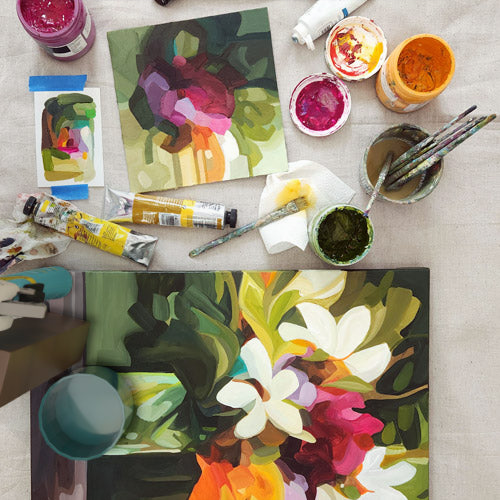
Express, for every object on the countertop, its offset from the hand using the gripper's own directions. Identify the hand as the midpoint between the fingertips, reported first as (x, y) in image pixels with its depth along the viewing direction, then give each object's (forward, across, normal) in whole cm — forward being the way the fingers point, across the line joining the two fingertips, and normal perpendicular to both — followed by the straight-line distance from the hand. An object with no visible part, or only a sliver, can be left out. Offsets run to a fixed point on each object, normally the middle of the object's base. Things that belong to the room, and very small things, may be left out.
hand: (6, 288), depth 54 cm
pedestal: (+15, +3, -8) cm, 17 cm away
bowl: (+15, +10, -17) cm, 24 cm away
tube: (+14, 0, 0) cm, 14 cm away
